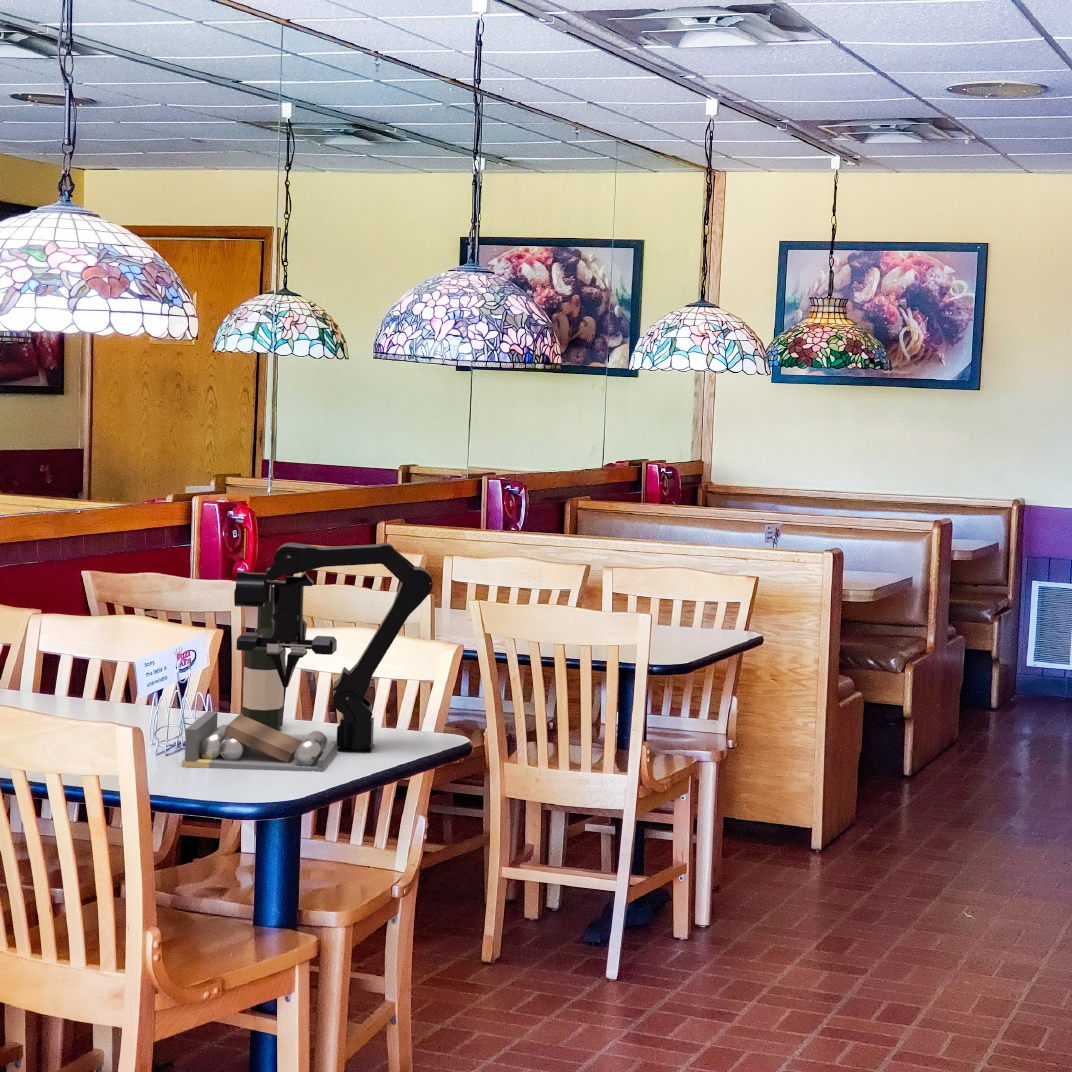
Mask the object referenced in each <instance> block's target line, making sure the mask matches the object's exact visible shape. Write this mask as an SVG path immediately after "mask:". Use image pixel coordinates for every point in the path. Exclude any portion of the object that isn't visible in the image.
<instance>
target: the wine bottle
mask: <svg viewBox="0 0 1072 1072" xmlns="http://www.w3.org/2000/svg"><path fill="white" fill-rule="evenodd" d="M273 602H274V585H271V596H270V602H266V603H265V604H264V607H257V623H256V624H257V625H256V628H255V629H254V632H253V633H262V636H263V637H265V638H272V635H273V632H272V631H271V629H270V627H271V620H272V616H273ZM283 649H286V648H283ZM243 652H244V657H243V658H244V659H243V660H244V662H243V686H242V687H243V688H242V690H243V691H242V694H243V695H242V715H243V716H246V717H248V718H250V719H253V720H255V721H257V722H259V723H262V724H264V725H266V726H268V727H271V728H273V729H275V730H278V729H280V728H282V727H283V725H284V696H285V695H284V694H285V687H283V685H282V682H281V680H280V677H279V674H278V671H277V669H276V667H275V665H274V663H273V661H272V659H271V657H270V656H266V652H267V647H256V648H254V649H253V650H252V651H243Z"/></svg>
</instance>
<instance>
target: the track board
mask: <svg viewBox="0 0 1072 1072" xmlns="http://www.w3.org/2000/svg"><path fill="white" fill-rule="evenodd" d="M218 715H219V714H218V711H207V712H205V713H204V714H202V715H201V716H200V717H199V718H198V719H196V720H195V721H194V722H193V723H191V724H190V725H189V726H187V728H185V737H184V738H185V739H184V740H185V741H184V747H185V749H184V758H183V760H182V761H181V767H184V768H201V769H202V768H203V769H220V770H221V769H222V770H223V769H225V770H227V769H228V770H230V769H231V770H255V771H256V770H257V771H288V772H312V771H315V772H316V773H317V772H318V771H319V772H321V773H323V772H324V771H325V770H326V768H328V766H329V765H330V764H331V762H332V761H333V760H334V758H335V757H336V755H338V747H337V740H332V741H331V742H330V743H329V745H328V746H326V747H325V748H324V750H323V751H322V752H321V753H320V755H319V756H318V757H317V759H316V760H315V761H314V762H313V764H311V765H309V766H301V765H299V764H298V763H297V762H296V761H295V758H294V756H293V757H292V759H291V760H290V761H289V762H288V763H287V762H284V761H282V760H280V759H277V758H275V757H273V756H271V755H268V754H266V753H264V752H262V751H259V750H257V749H255V748H252V747H249V748H248V749H247V750H246V751H245V752H244V753H243V754H242V755H241V756H240V757H239V758H238V759H237V760H235V761H227V760H225V759H224V758H223V757H222V756H221V754H220V755H219V756H218V757H217V758H215V759H212V760H208V759H205V758H203V757H202V756H201V754H200V752H199V746H200V743H201V742H202V741H203V740H204V739H205V738H207V737H208V736H209V735H210V734H211V733H212V732H213V731H214V730H216V729H217V728H218ZM332 759H333V760H332Z"/></svg>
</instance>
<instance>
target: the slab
mask: <svg viewBox="0 0 1072 1072" xmlns="http://www.w3.org/2000/svg"><path fill="white" fill-rule="evenodd" d="M226 725H227V728H226V730H225V732H224V735H225V736H228V737H230V738H232V739H234V740H237V741H239V742H241V743H243V744H246V745H248V746H250V747H252V748H255V749H257V750H259V751H262V752H264V753H266V754H268V755H271V756H273V757H275V758H277V759H280V760H282V761H284V762H287V763H288V762H289V761H290V760H291V759H292V757H293V756H294V753H295V750H296V749H297V748H298V747H299V745H300V744H301V743H302V742H303V741H302V740H300V739H298V738H295V737H293V736H291V735H289V734H286V733H284V732H282V731H280V730H278V729H273V728H271V727H268V726H266V725H264V724H262V723H259V722H257V721H255V720H253V719H250V718H248V717H246V716H243V714H242V713H239V715H237V716H236V717H235V718H233V720H232V721H230V723H228V724H226Z"/></svg>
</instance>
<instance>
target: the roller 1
mask: <svg viewBox="0 0 1072 1072" xmlns="http://www.w3.org/2000/svg"><path fill="white" fill-rule="evenodd" d="M227 725H228V724H221V725H219V726H217V729H216V730H214V731H213V732H212V733H211V734H210V735H209V736H208V737H207V738H205V739H204V740H203V741H202V742H201V743H200V746H199V752H200V754H201V756H202V757H203V758H205V759H208V760H212V759H215V758H217V757H218V756H219V755H220V754H221V753H220V747H221V745H222V744H223V743H224V742H225V741H226V740H227V739H228V738H229V737H228V736H225V735H224V732H225V730H226V728H227Z"/></svg>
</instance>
